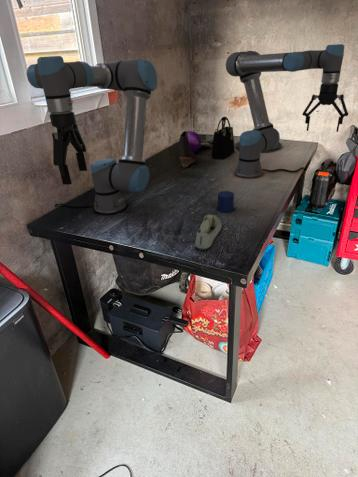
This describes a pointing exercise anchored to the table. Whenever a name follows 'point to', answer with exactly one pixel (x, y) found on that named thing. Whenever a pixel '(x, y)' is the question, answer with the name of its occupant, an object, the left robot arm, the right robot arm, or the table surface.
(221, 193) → the canister
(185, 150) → the boot
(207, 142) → the pair of gloves
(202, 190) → the table surface
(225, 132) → the handbag
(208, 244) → the ballet flat
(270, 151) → the miniature village
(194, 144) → the decorative orb
